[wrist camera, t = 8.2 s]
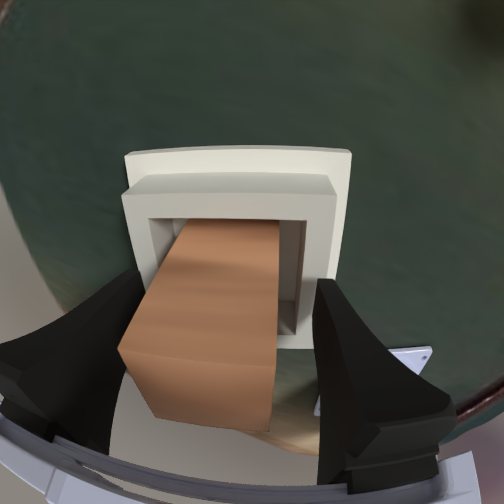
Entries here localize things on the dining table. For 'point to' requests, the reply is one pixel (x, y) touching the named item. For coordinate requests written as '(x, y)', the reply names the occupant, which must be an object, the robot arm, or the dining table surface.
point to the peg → (210, 326)
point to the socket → (246, 211)
